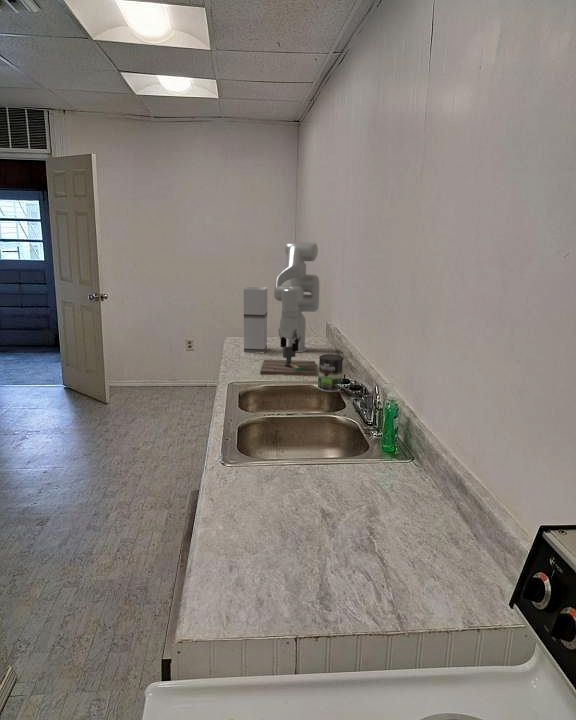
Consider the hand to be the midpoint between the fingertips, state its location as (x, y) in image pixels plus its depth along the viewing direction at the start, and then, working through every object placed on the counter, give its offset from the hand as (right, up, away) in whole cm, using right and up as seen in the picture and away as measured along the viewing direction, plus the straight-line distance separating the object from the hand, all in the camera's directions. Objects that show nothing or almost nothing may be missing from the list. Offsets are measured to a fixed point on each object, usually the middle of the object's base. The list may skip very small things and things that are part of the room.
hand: (289, 348), depth 250 cm
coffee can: (+18, -18, -29) cm, 38 cm away
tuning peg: (+2, -9, -2) cm, 9 cm away
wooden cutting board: (0, -10, +2) cm, 10 cm away
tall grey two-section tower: (-19, 0, +39) cm, 44 cm away
